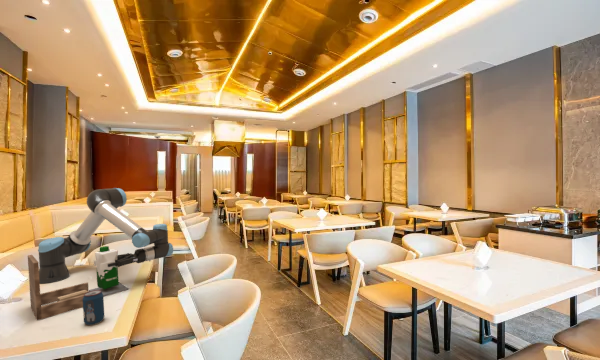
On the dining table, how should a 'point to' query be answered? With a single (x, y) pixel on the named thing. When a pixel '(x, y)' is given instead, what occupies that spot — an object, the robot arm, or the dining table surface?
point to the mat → (112, 289)
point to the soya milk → (108, 275)
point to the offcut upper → (71, 295)
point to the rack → (51, 295)
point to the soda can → (93, 307)
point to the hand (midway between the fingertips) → (96, 265)
